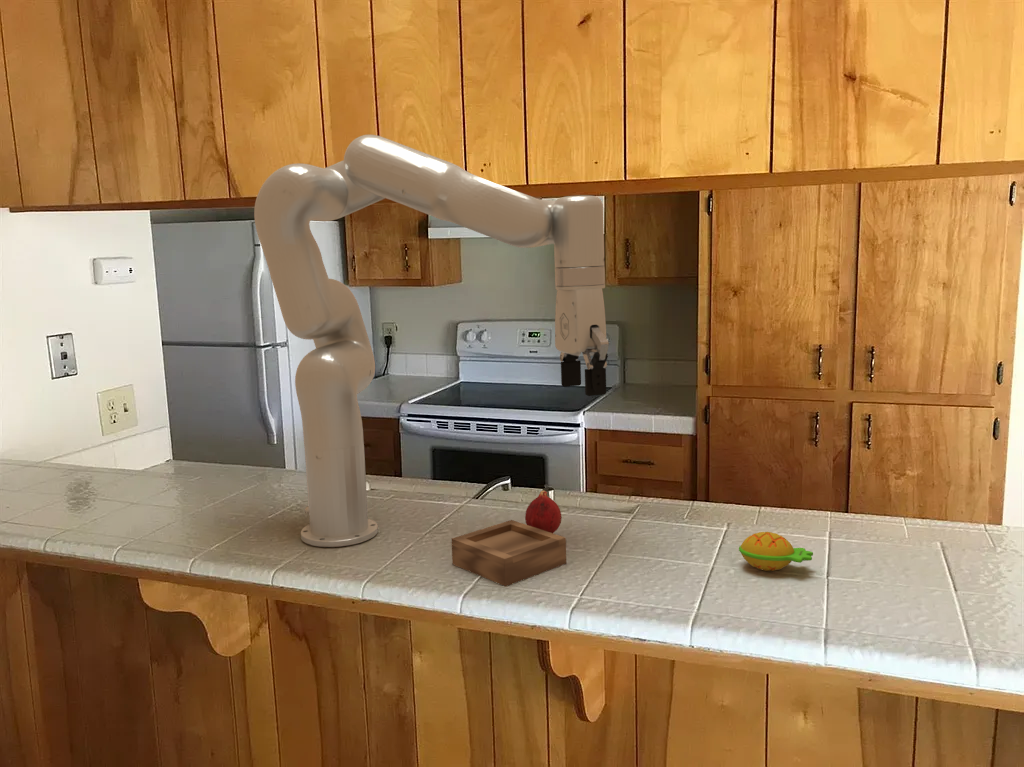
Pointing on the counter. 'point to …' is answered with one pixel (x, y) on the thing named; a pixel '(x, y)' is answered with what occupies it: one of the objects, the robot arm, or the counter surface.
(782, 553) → the toy pineapple
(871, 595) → the counter surface
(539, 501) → the onion
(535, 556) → the base
